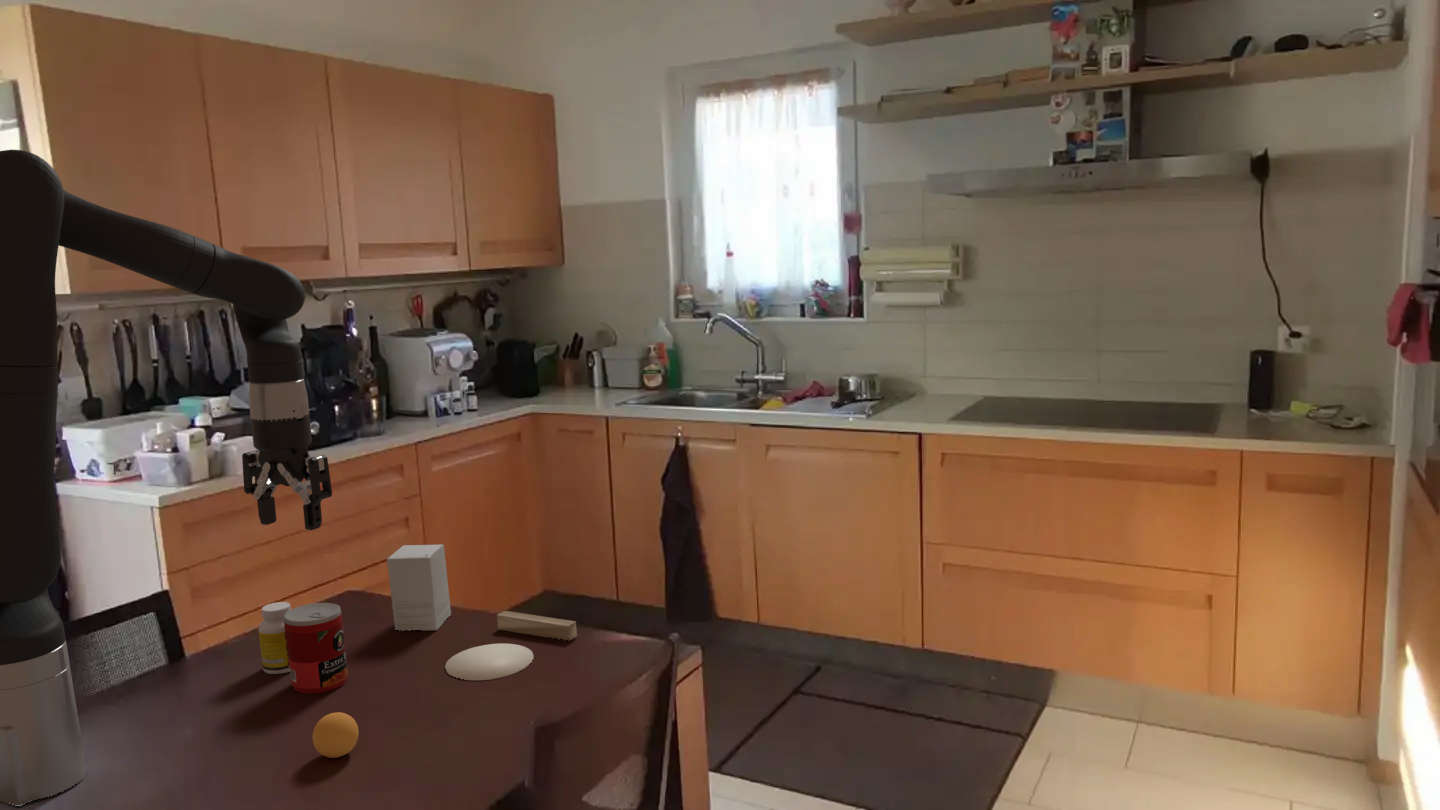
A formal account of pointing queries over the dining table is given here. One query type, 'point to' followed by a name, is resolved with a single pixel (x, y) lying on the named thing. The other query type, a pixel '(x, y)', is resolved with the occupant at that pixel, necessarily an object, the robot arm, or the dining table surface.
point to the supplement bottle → (274, 638)
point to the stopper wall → (537, 625)
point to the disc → (489, 661)
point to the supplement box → (419, 587)
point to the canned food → (316, 647)
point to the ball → (335, 735)
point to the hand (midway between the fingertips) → (290, 526)
